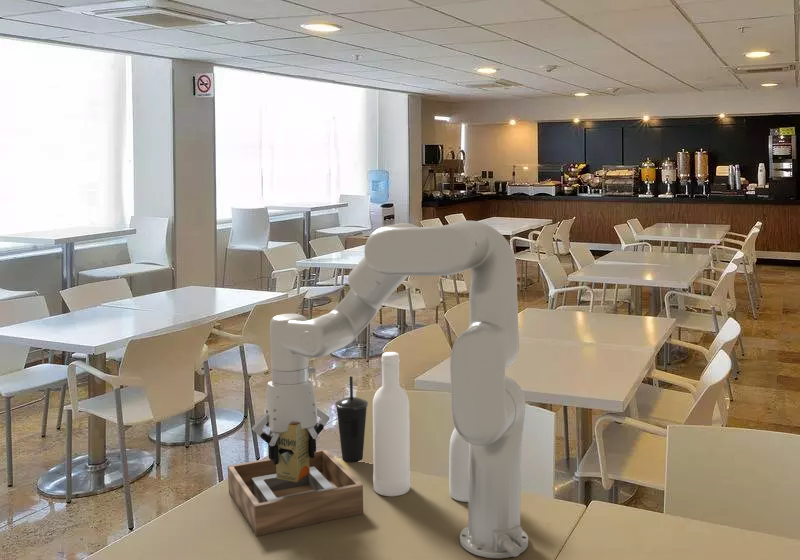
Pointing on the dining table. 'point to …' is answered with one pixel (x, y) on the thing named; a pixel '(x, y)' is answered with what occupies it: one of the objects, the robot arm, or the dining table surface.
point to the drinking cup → (351, 425)
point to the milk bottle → (458, 468)
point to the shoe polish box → (293, 454)
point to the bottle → (391, 432)
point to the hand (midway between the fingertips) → (292, 458)
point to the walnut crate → (294, 494)
